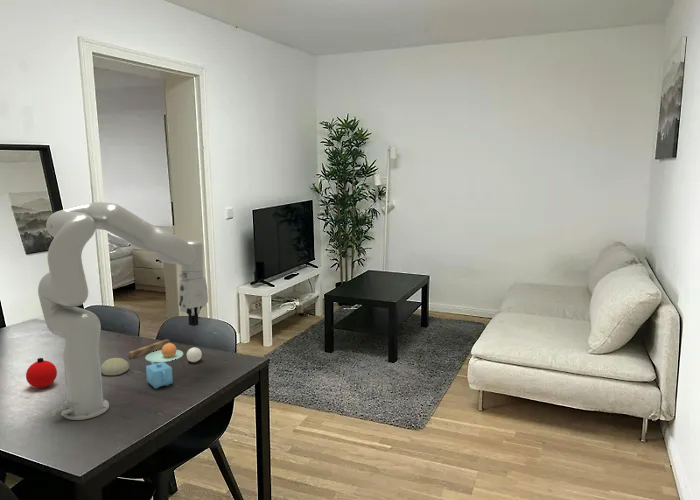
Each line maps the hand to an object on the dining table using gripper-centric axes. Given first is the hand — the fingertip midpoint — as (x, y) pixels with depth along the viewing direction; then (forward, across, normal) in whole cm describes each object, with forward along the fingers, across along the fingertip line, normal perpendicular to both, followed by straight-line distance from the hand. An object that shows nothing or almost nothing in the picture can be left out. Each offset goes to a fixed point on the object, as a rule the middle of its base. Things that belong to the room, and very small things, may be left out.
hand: (193, 324), depth 191 cm
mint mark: (+16, +3, +20) cm, 26 cm away
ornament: (+18, -38, +31) cm, 52 cm away
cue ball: (+14, +5, +5) cm, 15 cm away
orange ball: (+14, +3, +18) cm, 22 cm away
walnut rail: (+16, +3, +29) cm, 33 cm away
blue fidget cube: (+17, -16, 0) cm, 23 cm away
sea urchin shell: (+17, -17, +22) cm, 33 cm away
